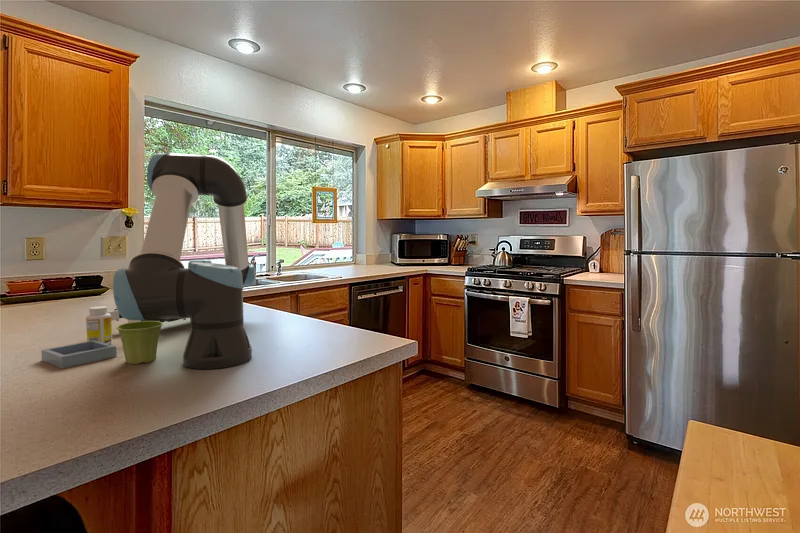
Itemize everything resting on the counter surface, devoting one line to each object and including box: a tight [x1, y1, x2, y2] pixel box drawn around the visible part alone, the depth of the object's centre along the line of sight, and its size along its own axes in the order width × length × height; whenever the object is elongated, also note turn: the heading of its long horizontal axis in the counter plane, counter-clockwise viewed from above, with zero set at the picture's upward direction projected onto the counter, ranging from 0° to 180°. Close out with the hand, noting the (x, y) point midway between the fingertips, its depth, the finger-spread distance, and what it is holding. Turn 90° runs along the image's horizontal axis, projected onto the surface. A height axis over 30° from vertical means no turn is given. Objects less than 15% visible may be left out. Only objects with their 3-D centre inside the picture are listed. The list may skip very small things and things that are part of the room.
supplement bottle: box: [85, 305, 113, 345], centre depth 113 cm, size 6×6×10 cm
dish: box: [41, 340, 117, 369], centre depth 100 cm, size 11×11×3 cm
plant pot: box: [116, 321, 164, 365], centre depth 98 cm, size 9×9×9 cm
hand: (111, 320), depth 117 cm, fingers open, 13 cm apart
